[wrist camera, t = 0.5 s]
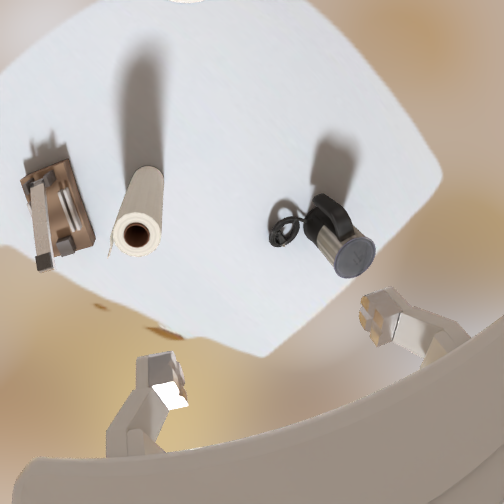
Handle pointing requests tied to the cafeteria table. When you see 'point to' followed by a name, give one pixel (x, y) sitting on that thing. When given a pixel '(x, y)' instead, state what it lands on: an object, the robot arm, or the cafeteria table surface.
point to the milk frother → (331, 237)
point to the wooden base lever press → (62, 208)
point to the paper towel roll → (140, 214)
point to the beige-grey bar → (41, 227)
